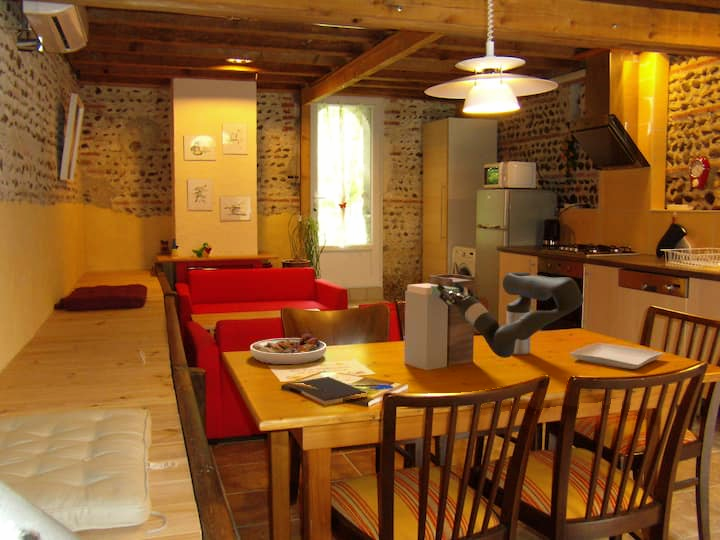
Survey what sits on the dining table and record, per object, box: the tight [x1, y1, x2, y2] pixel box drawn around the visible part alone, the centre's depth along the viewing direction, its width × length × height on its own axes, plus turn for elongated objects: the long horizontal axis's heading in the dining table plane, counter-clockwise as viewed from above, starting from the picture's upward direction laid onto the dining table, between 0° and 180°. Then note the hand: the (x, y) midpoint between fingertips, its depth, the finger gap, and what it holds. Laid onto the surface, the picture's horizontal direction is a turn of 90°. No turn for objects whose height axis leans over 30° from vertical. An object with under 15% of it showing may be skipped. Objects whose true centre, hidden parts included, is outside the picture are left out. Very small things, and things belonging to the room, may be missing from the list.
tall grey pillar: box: [404, 290, 448, 371], centre depth 258 cm, size 13×10×28 cm
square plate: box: [569, 342, 664, 370], centre depth 268 cm, size 27×27×4 cm
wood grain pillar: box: [427, 273, 476, 367], centre depth 264 cm, size 13×12×33 cm
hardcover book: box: [288, 376, 367, 406], centre depth 221 cm, size 16×23×2 cm
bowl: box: [249, 333, 327, 365], centre depth 270 cm, size 30×30×8 cm
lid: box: [406, 282, 459, 297], centre depth 252 cm, size 21×10×3 cm, turn 35°
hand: (447, 284), depth 246 cm, fingers open, 8 cm apart
